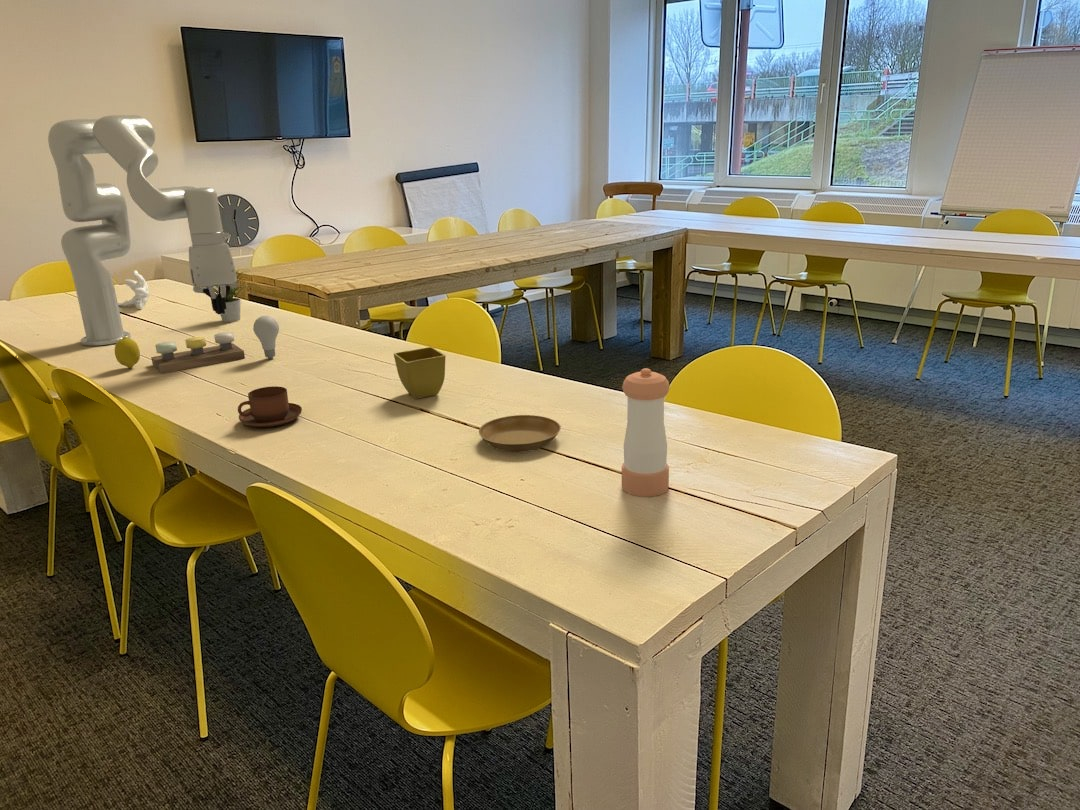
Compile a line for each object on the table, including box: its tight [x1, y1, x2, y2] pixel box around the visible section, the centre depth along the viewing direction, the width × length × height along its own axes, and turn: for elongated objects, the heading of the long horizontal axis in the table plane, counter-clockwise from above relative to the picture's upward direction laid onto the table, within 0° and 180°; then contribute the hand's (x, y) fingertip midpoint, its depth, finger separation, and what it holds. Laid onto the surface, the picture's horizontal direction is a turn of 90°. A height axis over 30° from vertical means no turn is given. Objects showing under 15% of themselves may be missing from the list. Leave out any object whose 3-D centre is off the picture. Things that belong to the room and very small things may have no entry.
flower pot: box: [393, 346, 447, 399], centre depth 175 cm, size 9×9×9 cm
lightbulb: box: [252, 315, 280, 360], centre depth 206 cm, size 6×6×11 cm
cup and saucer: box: [237, 385, 303, 428], centre depth 163 cm, size 12×12×6 cm
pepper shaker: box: [621, 367, 671, 498], centre depth 125 cm, size 7×7×19 cm
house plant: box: [213, 269, 250, 323], centre depth 249 cm, size 14×14×16 cm
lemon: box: [114, 337, 141, 369], centre depth 203 cm, size 6×6×8 cm
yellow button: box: [184, 336, 207, 356], centre depth 207 cm, size 5×5×4 cm
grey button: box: [213, 331, 235, 351], centre depth 211 cm, size 5×5×4 cm
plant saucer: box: [478, 414, 562, 453], centre depth 148 cm, size 15×15×3 cm
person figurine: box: [118, 269, 150, 310], centre depth 277 cm, size 13×13×18 cm
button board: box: [150, 342, 246, 374], centre depth 208 cm, size 10×20×2 cm, turn 125°
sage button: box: [155, 341, 178, 361], centre depth 203 cm, size 5×5×4 cm
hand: (220, 312), depth 208 cm, fingers closed
